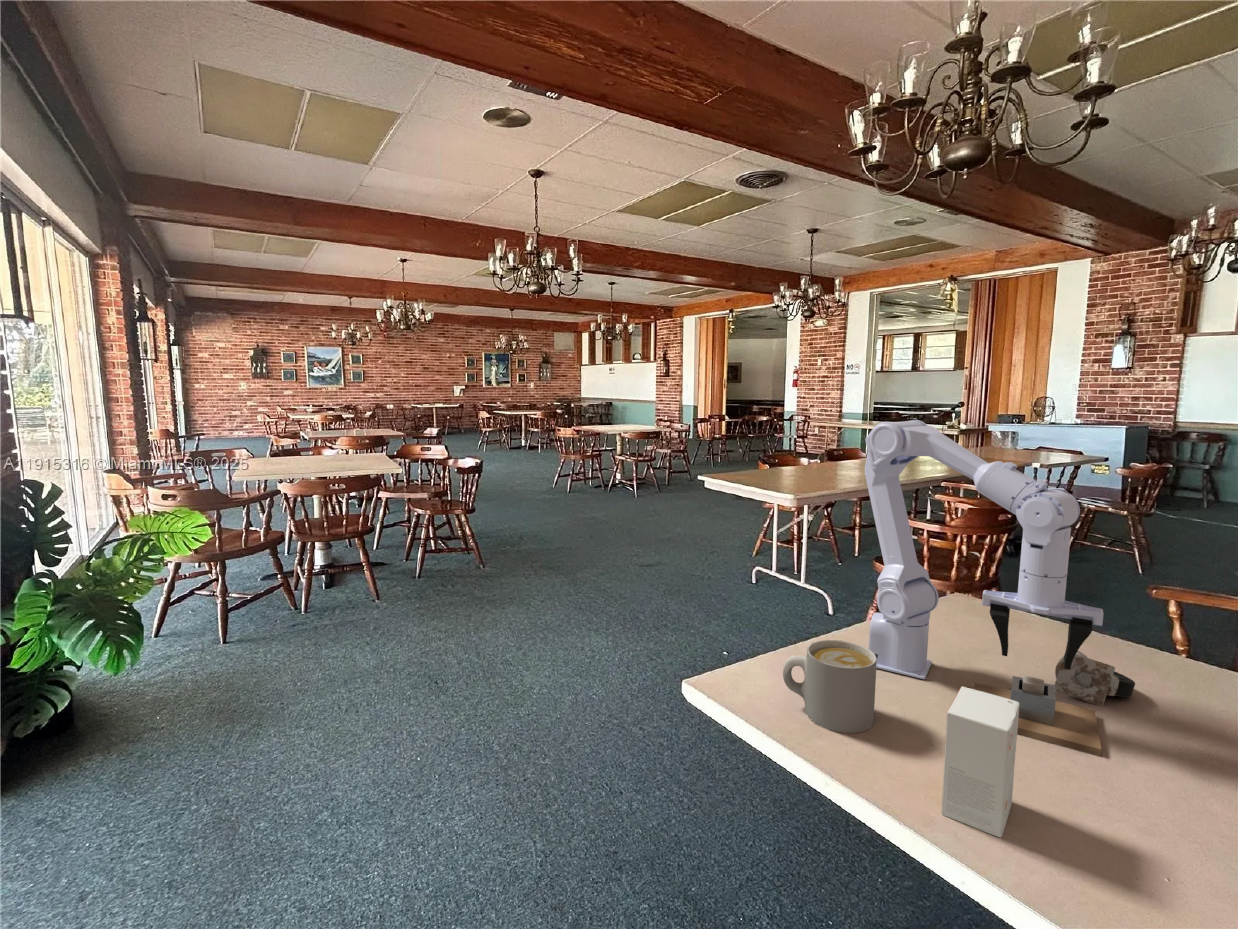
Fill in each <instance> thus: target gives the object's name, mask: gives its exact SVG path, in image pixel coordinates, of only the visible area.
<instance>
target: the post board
mask: <svg viewBox="0 0 1238 929" xmlns="http://www.w3.org/2000/svg"><path fill="white" fill-rule="evenodd" d="M1022 678H1023V686H1022V690H1024V691H1028V692H1032V693H1037V694H1041V695H1043V694H1044V683H1045V679H1042V678H1038V677H1034V676H1029V675H1023V676H1022ZM971 689H974V690H978V691H982V692H985V693H989V694H993V695H996V696H1000V697H1004V698H1007V699H1010V698H1011V690H1010V689H1005V688H1002V687H999V686H998V687H997V686H993V685H988V684H985V683H981V682H976V681H973V683H972V687H971ZM1097 720H1098V719H1097V714H1096V710H1095V709H1091V708H1087V707H1083V706H1079V705H1074V704H1070V703H1065V702H1061V701H1057V700H1056V702H1055V713H1054V724H1053V726H1049V725H1045V724H1042V723H1038V722H1034V721H1030V720H1026V719H1022V718H1018V729H1017V735H1020V736H1024V737H1027V738H1031V739H1035V740H1039V741H1042V742H1046V743H1049V744H1053V745H1057V746H1061V747H1065V748H1068V749H1071V750H1076V751H1079V752H1084V753H1087V754H1090V755H1095V756H1098V757H1101V755H1102V745H1101V740H1100V732H1099V725H1098V721H1097Z"/></svg>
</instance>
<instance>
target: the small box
mask: <svg viewBox="0 0 1238 929" xmlns="http://www.w3.org/2000/svg"><path fill="white" fill-rule="evenodd" d="M1018 716H1019V702H1017V701H1014V700H1010V699H1007V698H1004V697H1000V696H996V695H993V694H989V693H985V692H982V691H978V690H974V689H972V688H968V687H966V686H960V688H959V689H958V692H957V693H956V695H955V697H954V699H953V700H952V703H951V704H950V705H949V708H948V710H947V712H946V727H945V742H944V743H945V745H944V760H943V761H944V762H943V779H942V794H941V797H942V798H941V807H940V808H941V811H940V814H942V815H943V816H945V817H947V818H950V819H953V820H955V821H958V822H960V823H963V824H964V825H967V826H969V827H972V828H974V829H977V830H980V831H982V832H984V833H986V834H989V835H992V836H995V837H998V838H1000V839H1001V838H1002V837H1003V835H1004V832H1005V828H1006V825H1007V821H1008V817H1009V814H1010V812H1011V807H1012V803H1013V792H1014V777H1015V776H1014V774H1015V763H1016V762H1015V761H1016V751H1017V750H1016V749H1017V741H1018V734H1017V729H1018Z"/></svg>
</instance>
